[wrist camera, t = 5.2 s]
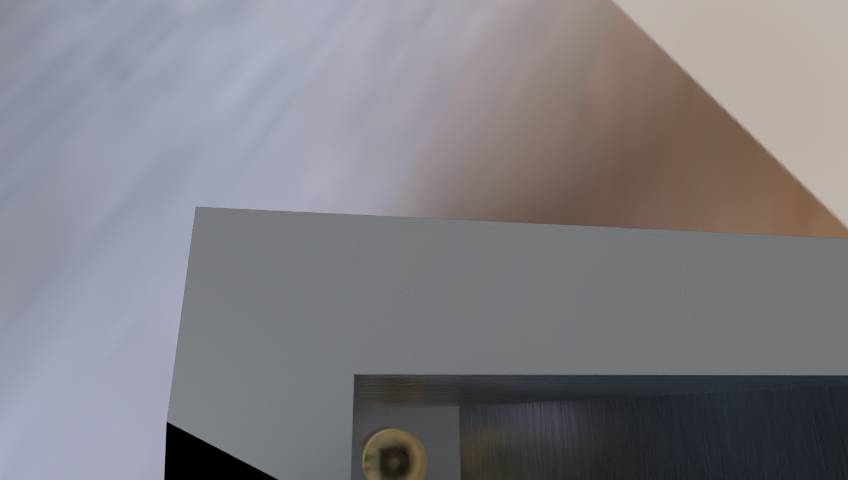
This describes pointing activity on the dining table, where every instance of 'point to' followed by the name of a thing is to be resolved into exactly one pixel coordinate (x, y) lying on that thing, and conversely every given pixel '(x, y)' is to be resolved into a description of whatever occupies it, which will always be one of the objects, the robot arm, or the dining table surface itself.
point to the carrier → (405, 443)
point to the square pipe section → (510, 347)
